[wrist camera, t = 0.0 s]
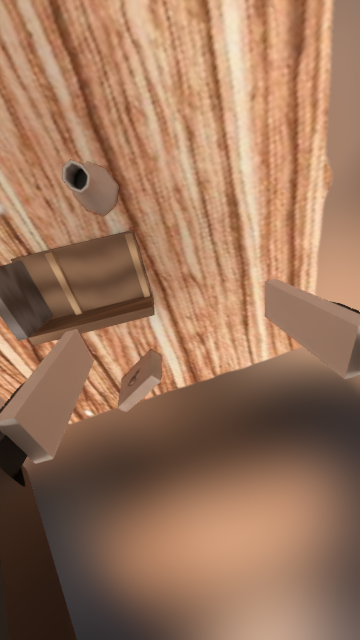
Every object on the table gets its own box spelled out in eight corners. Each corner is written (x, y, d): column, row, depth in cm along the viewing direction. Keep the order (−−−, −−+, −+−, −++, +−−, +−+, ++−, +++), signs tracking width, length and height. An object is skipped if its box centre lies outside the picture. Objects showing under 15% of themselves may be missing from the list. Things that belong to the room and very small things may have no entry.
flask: (106, 224, 34) (91, 223, 25) (65, 195, 32) (32, 183, 23) (126, 185, 32) (118, 170, 23) (85, 151, 30) (57, 119, 21)
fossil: (150, 347, 47) (150, 374, 39) (161, 354, 48) (163, 382, 40) (121, 378, 50) (115, 409, 42) (132, 384, 51) (128, 415, 43)
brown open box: (14, 258, 35) (-34, 269, 26) (133, 230, 35) (127, 231, 26) (54, 324, 41) (26, 352, 32) (153, 299, 42) (154, 319, 33)
